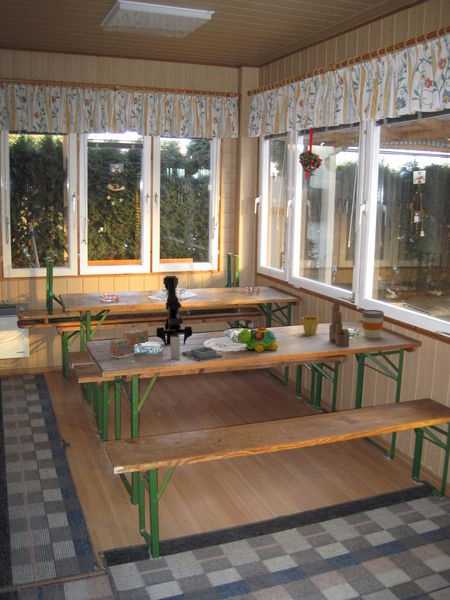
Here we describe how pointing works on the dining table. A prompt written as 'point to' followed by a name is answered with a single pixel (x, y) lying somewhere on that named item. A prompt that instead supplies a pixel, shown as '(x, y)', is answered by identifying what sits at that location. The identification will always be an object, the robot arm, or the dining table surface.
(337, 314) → the wooden toy
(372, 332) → the reusable coffee cup
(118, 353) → the stack of blocks
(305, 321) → the plant pot
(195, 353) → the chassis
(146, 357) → the dining table surface
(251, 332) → the turtle toy
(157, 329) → the robot arm
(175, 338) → the light grey rectangular block
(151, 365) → the dining table surface
